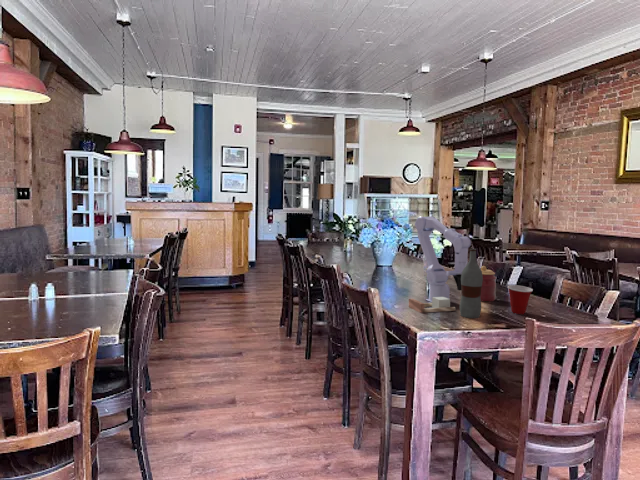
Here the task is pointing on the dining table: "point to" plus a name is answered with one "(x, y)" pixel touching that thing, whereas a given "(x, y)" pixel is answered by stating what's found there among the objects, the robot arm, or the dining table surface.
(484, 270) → the canister
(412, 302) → the keeper channel
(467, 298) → the bottle
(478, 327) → the dining table surface
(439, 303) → the keeper block
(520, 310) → the plastic cup
